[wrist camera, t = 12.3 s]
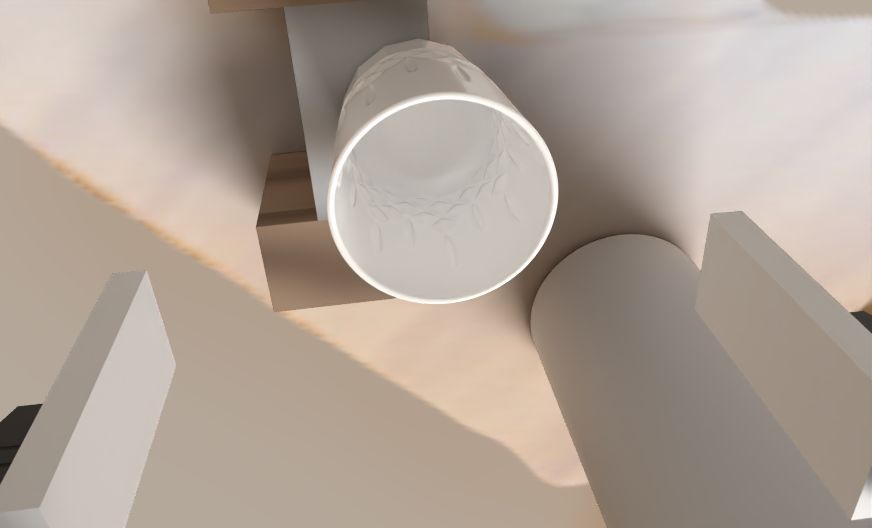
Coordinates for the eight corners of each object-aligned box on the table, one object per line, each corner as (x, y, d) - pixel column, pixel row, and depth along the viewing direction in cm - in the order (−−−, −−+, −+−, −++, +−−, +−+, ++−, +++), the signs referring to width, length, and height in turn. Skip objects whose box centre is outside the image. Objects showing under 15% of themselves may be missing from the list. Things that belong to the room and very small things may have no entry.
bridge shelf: (217, -131, 35) (181, -124, 27) (458, -148, 36) (494, -146, 28) (285, 228, 45) (273, 312, 37) (471, 208, 46) (500, 286, 38)
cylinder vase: (492, 323, 51) (604, 668, 30) (617, 195, 47) (852, 488, 25) (608, 398, 56) (776, 740, 35) (730, 288, 52) (1006, 598, 30)
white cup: (451, 215, 35) (487, 332, 27) (302, 152, 33) (290, 259, 24) (532, 72, 32) (602, 154, 24) (375, -10, 30) (390, 48, 21)
